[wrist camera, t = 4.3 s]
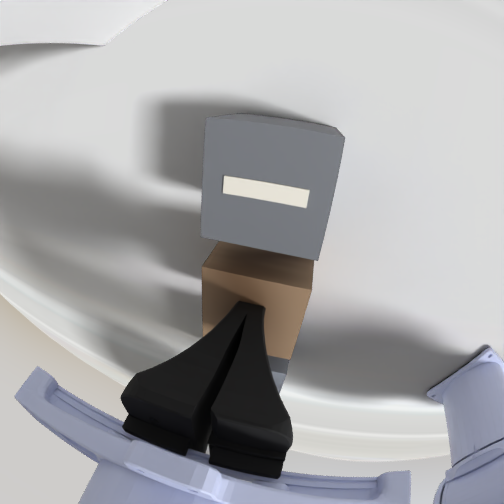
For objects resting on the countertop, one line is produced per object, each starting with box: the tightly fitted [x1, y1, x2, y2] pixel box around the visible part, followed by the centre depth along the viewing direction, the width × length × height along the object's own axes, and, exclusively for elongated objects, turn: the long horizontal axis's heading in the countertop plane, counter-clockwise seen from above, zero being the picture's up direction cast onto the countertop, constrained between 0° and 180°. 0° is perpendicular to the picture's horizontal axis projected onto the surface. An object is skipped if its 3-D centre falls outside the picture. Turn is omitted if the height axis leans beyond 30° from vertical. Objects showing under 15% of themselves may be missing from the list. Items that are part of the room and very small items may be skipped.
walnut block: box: [202, 241, 314, 360], centre depth 16 cm, size 5×5×5 cm
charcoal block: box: [201, 113, 345, 261], centre depth 12 cm, size 5×5×5 cm
